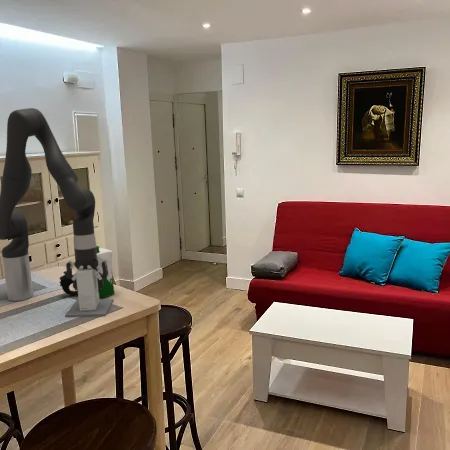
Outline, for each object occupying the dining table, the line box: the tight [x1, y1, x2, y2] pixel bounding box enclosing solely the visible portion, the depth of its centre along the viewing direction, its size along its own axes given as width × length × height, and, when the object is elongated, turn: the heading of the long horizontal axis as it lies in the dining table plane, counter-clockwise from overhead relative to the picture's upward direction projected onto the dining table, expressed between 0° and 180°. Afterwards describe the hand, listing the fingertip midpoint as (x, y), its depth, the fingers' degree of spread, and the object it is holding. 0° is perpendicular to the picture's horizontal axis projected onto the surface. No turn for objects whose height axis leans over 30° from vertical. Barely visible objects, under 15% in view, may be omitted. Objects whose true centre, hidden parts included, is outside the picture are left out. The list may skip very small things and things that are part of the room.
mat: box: [64, 298, 115, 318], centre depth 166 cm, size 14×14×1 cm
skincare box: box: [75, 269, 100, 311], centre depth 164 cm, size 8×6×15 cm
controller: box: [59, 270, 78, 297], centre depth 180 cm, size 4×12×10 cm, turn 113°
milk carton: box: [96, 245, 115, 299], centre depth 178 cm, size 9×9×20 cm
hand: (88, 289), depth 165 cm, fingers open, 8 cm apart
